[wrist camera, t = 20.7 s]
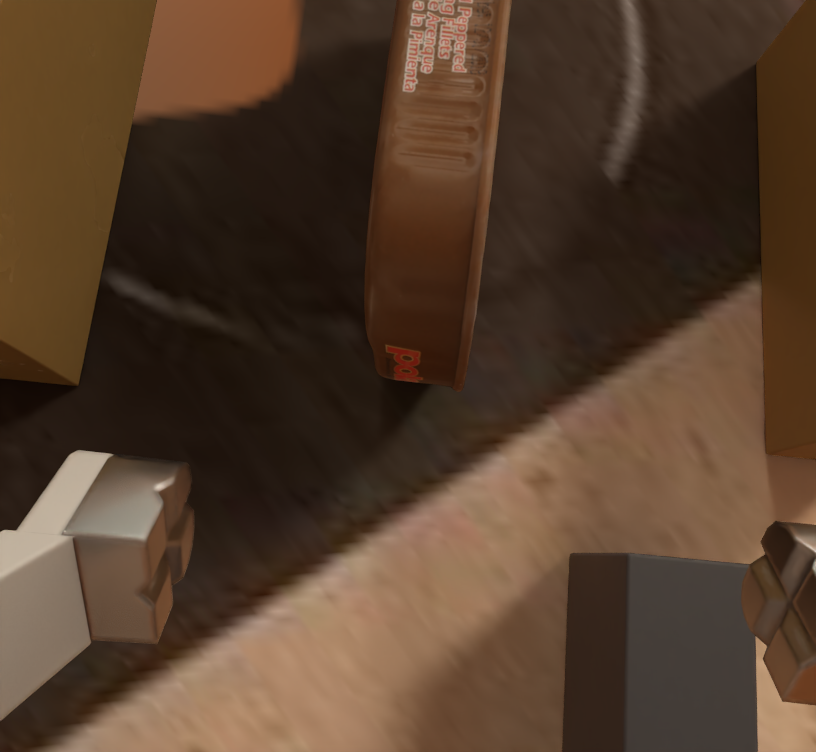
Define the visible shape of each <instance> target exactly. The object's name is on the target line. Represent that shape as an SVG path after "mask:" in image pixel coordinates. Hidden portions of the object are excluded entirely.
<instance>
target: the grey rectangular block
mask: <svg viewBox="0 0 816 752" xmlns="http://www.w3.org/2000/svg"><path fill="white" fill-rule="evenodd" d="M749 565H750V564H740V563H730V562H719V561H709V560H698V559H688V558H677V557H667V556H656V555H645V554H635V553H572V554H570V559H569V585H568V612H567V639H566V666H565V692H564V719H563V746H562V752H758V740H757V692H756V644H755V635H754V634H753V633H752V632H750V629H749V627H748V625H747V622H746V620H745V618H744V614H743V609H742V604H741V590H742V581H743V579H744V576H745V574H746V572H747V569H748V567H749Z"/></svg>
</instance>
